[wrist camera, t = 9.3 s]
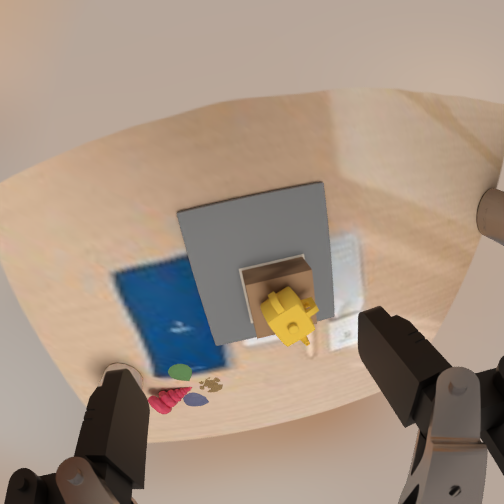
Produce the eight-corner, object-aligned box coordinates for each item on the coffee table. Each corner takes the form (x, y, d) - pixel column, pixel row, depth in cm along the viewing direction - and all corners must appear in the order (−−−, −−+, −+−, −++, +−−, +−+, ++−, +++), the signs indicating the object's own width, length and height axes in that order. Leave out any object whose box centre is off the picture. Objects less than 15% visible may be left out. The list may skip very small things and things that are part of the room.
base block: (302, 256, 39) (312, 269, 35) (307, 307, 42) (316, 323, 38) (241, 270, 38) (245, 285, 35) (252, 321, 41) (257, 338, 38)
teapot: (321, 312, 38) (336, 335, 33) (284, 336, 38) (294, 362, 34) (292, 267, 35) (305, 288, 30) (250, 294, 35) (257, 319, 30)
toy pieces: (187, 415, 49) (187, 433, 45) (140, 385, 45) (137, 403, 41) (236, 387, 48) (239, 406, 44) (189, 352, 44) (188, 371, 40)
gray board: (321, 181, 36) (323, 182, 36) (332, 313, 44) (334, 316, 43) (177, 211, 35) (176, 213, 34) (215, 342, 43) (216, 346, 42)
